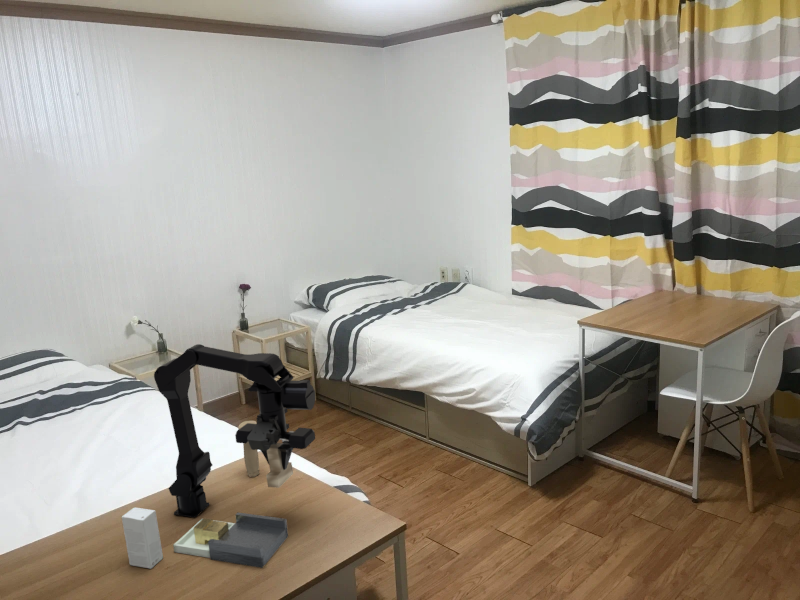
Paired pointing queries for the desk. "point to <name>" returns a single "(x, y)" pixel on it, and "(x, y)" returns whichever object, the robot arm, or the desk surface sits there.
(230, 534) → the slot rail
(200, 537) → the wooden block
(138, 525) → the skincare box
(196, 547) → the tray
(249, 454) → the handle
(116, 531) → the desk surface
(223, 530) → the chip
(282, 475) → the pale step bench
